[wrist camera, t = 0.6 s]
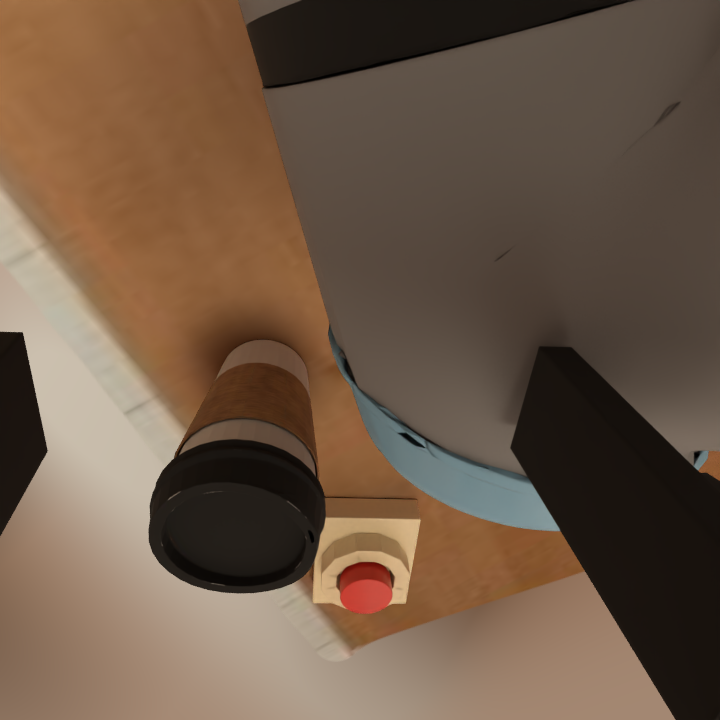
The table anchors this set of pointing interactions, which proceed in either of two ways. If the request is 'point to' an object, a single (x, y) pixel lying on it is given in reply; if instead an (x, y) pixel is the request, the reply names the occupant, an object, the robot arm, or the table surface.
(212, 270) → the table surface
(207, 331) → the table surface
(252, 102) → the table surface
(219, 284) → the table surface
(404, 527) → the button housing
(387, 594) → the stop button
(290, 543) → the coffee cup
